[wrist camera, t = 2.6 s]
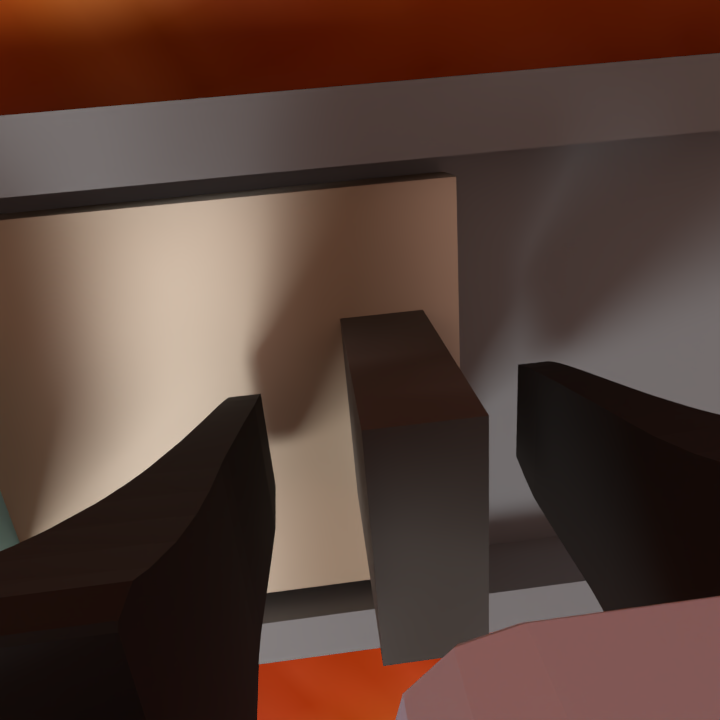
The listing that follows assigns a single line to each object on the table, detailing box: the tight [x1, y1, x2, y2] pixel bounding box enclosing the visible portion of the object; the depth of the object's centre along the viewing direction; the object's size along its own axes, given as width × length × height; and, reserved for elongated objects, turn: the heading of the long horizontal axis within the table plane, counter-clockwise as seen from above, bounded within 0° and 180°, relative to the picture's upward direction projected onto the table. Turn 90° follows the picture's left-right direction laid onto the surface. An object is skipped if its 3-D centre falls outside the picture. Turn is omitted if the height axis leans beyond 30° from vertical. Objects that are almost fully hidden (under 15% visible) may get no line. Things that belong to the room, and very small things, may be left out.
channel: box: [0, 53, 720, 664], centre depth 13 cm, size 30×12×2 cm, turn 95°
